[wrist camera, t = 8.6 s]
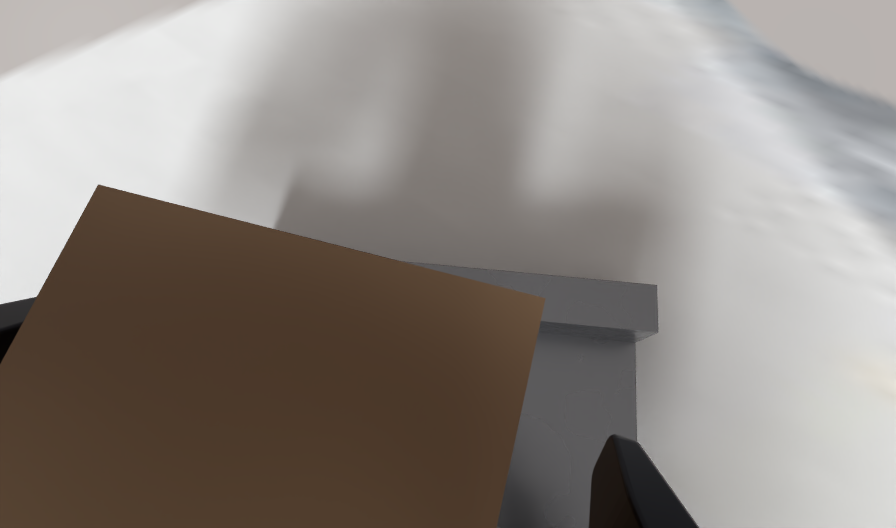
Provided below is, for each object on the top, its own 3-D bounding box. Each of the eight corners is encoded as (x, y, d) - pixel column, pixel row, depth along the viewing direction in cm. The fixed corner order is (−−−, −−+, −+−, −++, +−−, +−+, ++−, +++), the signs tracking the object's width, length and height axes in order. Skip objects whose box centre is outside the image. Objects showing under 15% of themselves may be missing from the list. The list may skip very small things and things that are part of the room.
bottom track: (628, 679, 14) (671, 743, 12) (177, 620, 15) (113, 666, 12) (624, 293, 18) (656, 269, 15) (262, 259, 19) (226, 230, 16)
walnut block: (443, 546, 15) (401, 976, 3) (291, 499, 15) (-200, 731, 4) (483, 384, 16) (544, 297, 5) (343, 345, 17) (98, 184, 5)
